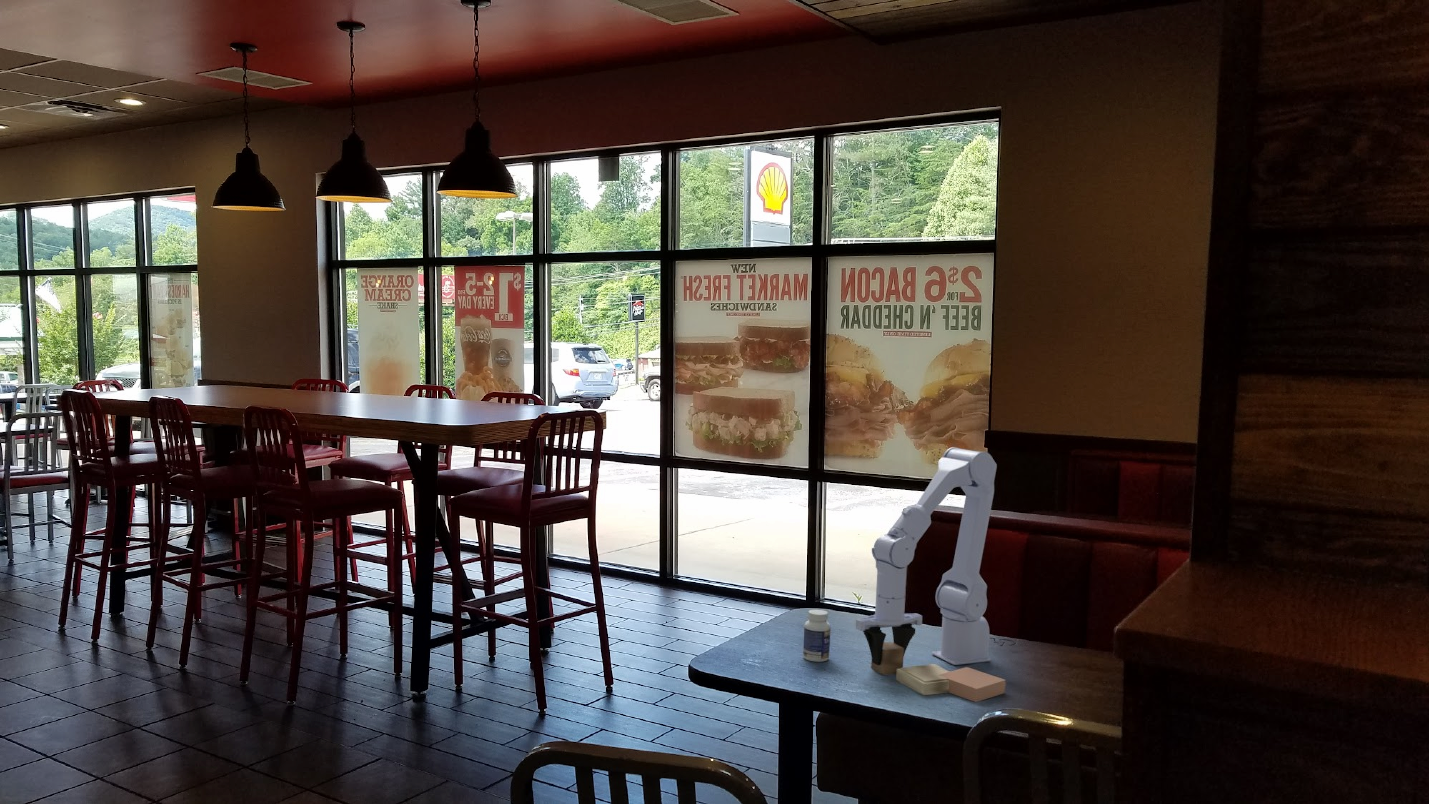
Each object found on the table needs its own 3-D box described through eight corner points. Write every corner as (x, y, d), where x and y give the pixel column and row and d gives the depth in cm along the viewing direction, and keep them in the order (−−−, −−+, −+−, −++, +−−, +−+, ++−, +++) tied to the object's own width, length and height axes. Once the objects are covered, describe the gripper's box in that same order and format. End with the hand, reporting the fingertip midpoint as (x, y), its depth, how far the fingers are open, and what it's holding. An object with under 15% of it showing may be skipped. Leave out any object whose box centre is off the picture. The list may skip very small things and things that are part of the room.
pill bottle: (827, 663, 205) (830, 616, 205) (801, 661, 206) (803, 614, 206) (830, 655, 211) (832, 609, 210) (804, 653, 212) (806, 607, 211)
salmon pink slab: (966, 679, 199) (966, 666, 199) (1004, 692, 192) (1005, 680, 192) (936, 687, 193) (937, 675, 193) (975, 702, 186) (976, 688, 186)
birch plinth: (934, 675, 201) (934, 663, 201) (962, 690, 192) (963, 677, 192) (896, 679, 197) (896, 667, 197) (923, 695, 189) (924, 682, 189)
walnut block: (889, 665, 206) (891, 641, 205) (902, 672, 202) (903, 648, 201) (871, 667, 204) (872, 643, 203) (883, 675, 200) (884, 650, 199)
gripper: (909, 588, 208) (905, 653, 209) (848, 593, 202) (845, 659, 203) (929, 596, 202) (926, 663, 203) (867, 602, 196) (864, 670, 197)
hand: (887, 662), depth 203 cm, fingers closed on walnut block, 4 cm apart
